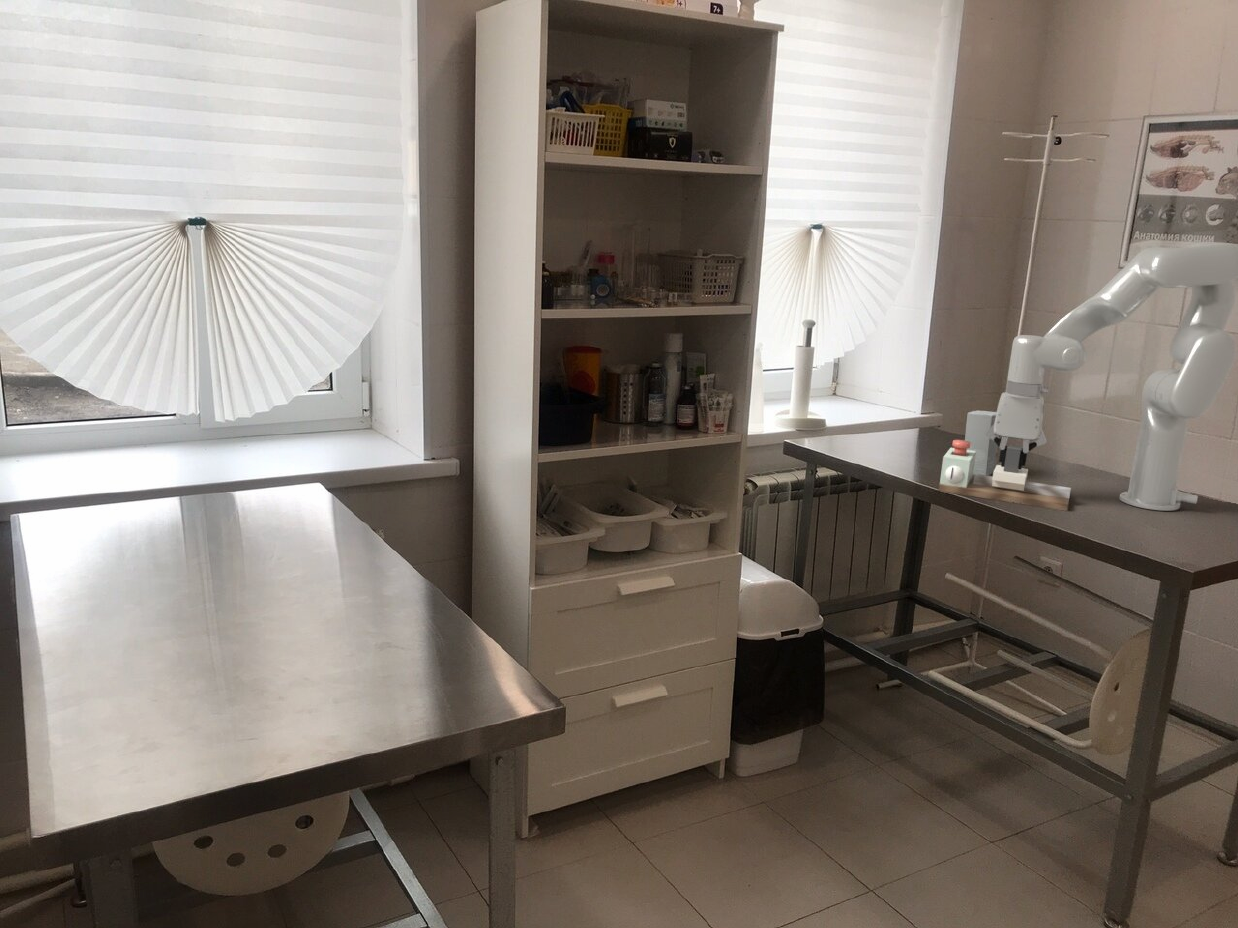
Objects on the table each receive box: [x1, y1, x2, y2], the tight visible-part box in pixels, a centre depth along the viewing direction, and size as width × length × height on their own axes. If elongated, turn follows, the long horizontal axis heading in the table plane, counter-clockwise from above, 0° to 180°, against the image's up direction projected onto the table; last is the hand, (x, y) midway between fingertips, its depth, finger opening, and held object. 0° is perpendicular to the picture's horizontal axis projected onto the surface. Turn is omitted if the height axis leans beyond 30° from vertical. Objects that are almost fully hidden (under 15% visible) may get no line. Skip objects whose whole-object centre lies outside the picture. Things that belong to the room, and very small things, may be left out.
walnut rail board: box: [937, 474, 1072, 512], centre depth 233 cm, size 28×14×4 cm, turn 64°
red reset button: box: [952, 439, 970, 456], centre depth 236 cm, size 4×4×3 cm
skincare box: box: [964, 409, 999, 476], centre depth 251 cm, size 8×7×16 cm
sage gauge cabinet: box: [939, 447, 976, 488], centre depth 237 cm, size 6×12×6 cm, turn 154°
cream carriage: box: [992, 444, 1029, 491], centre depth 232 cm, size 7×8×9 cm
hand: (1011, 466), depth 232 cm, fingers closed on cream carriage, 3 cm apart
